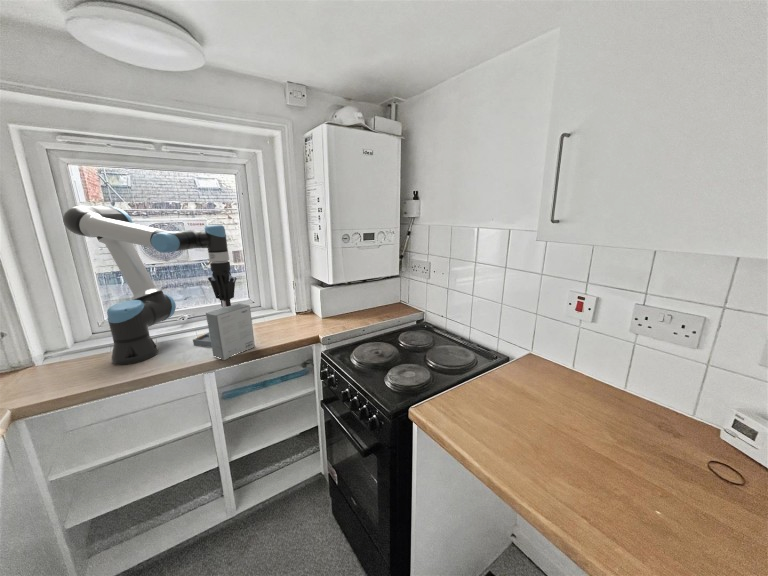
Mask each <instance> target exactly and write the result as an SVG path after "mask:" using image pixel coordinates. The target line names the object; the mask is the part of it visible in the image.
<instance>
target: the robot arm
mask: <svg viewBox="0 0 768 576" xmlns="http://www.w3.org/2000/svg"><path fill="white" fill-rule="evenodd" d="M62 222H63V223H64V226H65V227H66V229H67V230H69V232H71V233H72V234H75V235H77V236H78V235H79V236H84V237H88V238H96V239H97V240H98V242H99V243H102V244H103V245H105V246H106V248H107V250H108V251H109V253H110V256H111V257H112V258H113V260H114V262H115V264H116V266H117V268H118V269H119V271H120V273H121V276H123V278H124V281H125V282H126V284H127V285H128V288H129V289H130V291H131V293H132V294H133V296H132V298H131V299H130V300H126V301H121V302H118V303H114V304H112V305H111V306H110V307H109V308H108V309H107V310H106V315H107V321H108V325H109V329H110V333H111V337H112V340H113V347H112V353H111V363H112V364H114V365H120V366H123V365H132V364H136V363H140V362H144V361H146V360H149V359H151V358H152V357H155V356H156V355H157V354H158V352H159V349H158V346H157V344H156V343H155V341H154V340H153V339H152V337H151V335H150V331H149V327H152V326H154V325H157V324H158V323H159V324H160V323H161V322H164V321H167V319H169V318H171V317H173V315H174V314H175V311H176V310H177V309H176V308H177V307H176V306H177V305H176V301H175V299H174V298H173V297H172V296H171V295H169V294H167V293H164V292H163V290H162V289H161V288H157V287H156V286H155V285H156V284H154V281H153V279H152V278H151V276H150V273H149V272H148V270H147V268H146V267H145V264H144V262H143V261H142V259H141V256H140V254H139V253H138V251H137V249H136V247H135V245H138V246H143V247H147V248H152V249H154V250H156V251H157V252H159V253H162V254H163V253H170V254H171V253H175V252H180V251H185V250H186V251H187V250H192V249H194V250H195V249H207V252H208V253H207V254H208V258H209V262H210V263H209V264H210V265H209V267H210V271H211V272H212V273H211V276H210V277H207V279H208V282H209V283H210V285H211V288H212V291H213V293H214V295H215V299H216V300H217V299H219V301H220V306H221V308H224V307H228V306H231V300H232V299H234V298H235V289H236V287H235V285H236V281H237V277H235V276H232V273H231V263H230V255H229V254H230V253H229V248H228V242H227V234H226V228H225V226H223V225H220V224H218V225H217V224H215V225H212V224H211V225H204V229H203V230H201V229H200V230H199V229H198V230H197V229H196V230H195V229H193V230H191V229H189V230H188V229H186V230H178V231H170V230H169V231H168V230H164V229H161V228H155V227H151V226H150V227H149V226H145V225H143V224H142V225H140V224H136V223H133V220H132V217H131V216H130V215H129V214H128V213H127V212H126V211H125V210H124V209H121V208H118V207H113V206H107V205H105V206H93V205H92V206H91V205H90V206H89V205H78V206H73V207H71V208H68V209H67V210H66V211H65V212H64V214H63V216H62Z"/></svg>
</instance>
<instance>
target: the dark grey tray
mask: <svg viewBox="0 0 768 576" xmlns="http://www.w3.org/2000/svg"><path fill="white" fill-rule="evenodd" d="M192 343H193V346H198V347H207V348H212V345H211V341H210V339H209V332H206V333H204V334H201V335H199V336H197V337H196V338H193V339H192Z"/></svg>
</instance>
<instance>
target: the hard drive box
mask: <svg viewBox="0 0 768 576" xmlns="http://www.w3.org/2000/svg"><path fill="white" fill-rule="evenodd" d="M205 316H206V322H207V329H208V333H209V334H210V340H211V345H212V347H211V351H212V356H216V357H219V358H221V359H222V360H221V361H225V360H229V359H230V358H229V357H231V356H232V355H234V354H237V353H239V352H242V351H245V350H247V351H249V350H248V349H250V348H252V349H254V348H256V344H255V343H256V342H255V336H254V328H253V320H252V311H251V307H250V305H249V304H245V303H240V302H239V303H236V304H235V303H234V304H232V305H231V306H228V307H224V308H223V307H221V308H218V309H214V310H211V311H208V312H205ZM253 347H254V348H253ZM250 350H251V349H250ZM245 352H246V351H245ZM242 353H243V352H242ZM231 358H232V357H231Z"/></svg>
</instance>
